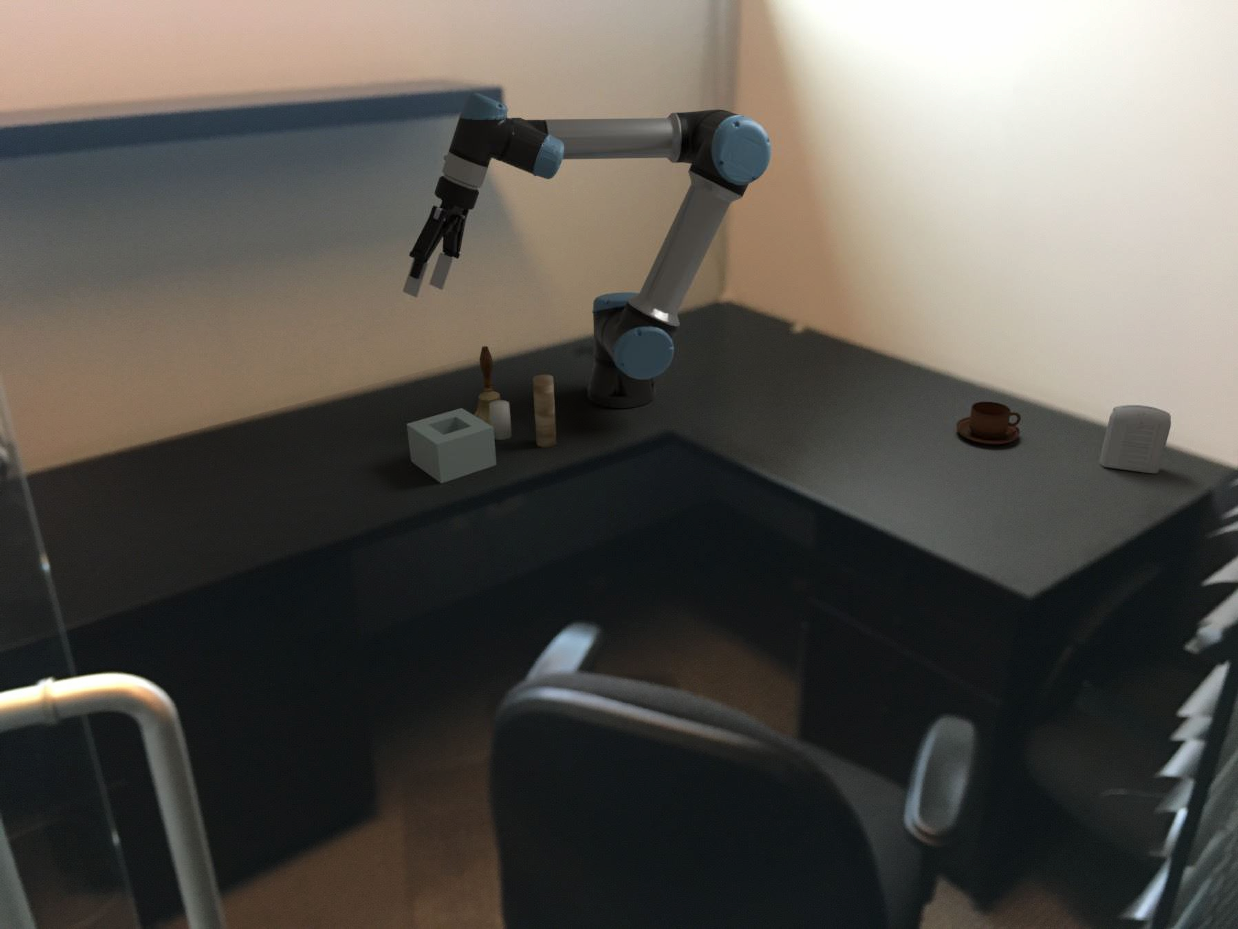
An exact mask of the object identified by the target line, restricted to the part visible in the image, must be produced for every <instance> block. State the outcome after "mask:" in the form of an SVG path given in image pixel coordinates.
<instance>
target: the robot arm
mask: <svg viewBox="0 0 1238 929" xmlns="http://www.w3.org/2000/svg"><path fill="white" fill-rule="evenodd" d="M508 111H509V108H508V106H507V105H506V104H504V103H502V102H500V101H498V100H495V99H494V98H493V99H492V98H490V97H489V96H486V95H482V94H480V93H478V92H472V93H469V94H468V96H467V97H466V99H465V102H464V104H463V108H462V110H461V112H460V114H459V116H458V117H459V118H458V121H457V124H456V125H455V126H456V127H455V130H454V133H453V136H452V139H451V142H450V145H449V146H450V147H449V149H448V152H447V155H444V156H443V160H444V163H443V167H442V170H441V172H442V174H443V175H441V176H439V178H438V182H437V184H436V186H435V190H434V195H435V196H436V198H437V199H440V201H441V203H440V205H439V207H438V206H437V205H433V206H432V207H431V210H430V213H429V215H428V217H427V219H426V222H425V224H424V226H423V228H422V230H421V232H420V234H419V236H418V238H417V239H416V242H414V246H413V247H412V249H411V251H409V253H408V256H409V257H410V258H412V262H411V265H410V268H409V271H408V275H407V277H406V280H405V283H404V287H403V288H402V289H403V290H402V292H403V293H405V294H408V295H409V296H412V297H414V298H418V297H419V293H420V291H421V287H422V286H423V283H424V278H425V276H426V273H427V272H428V271H427V270H428V267H429V264H430V263H428V262H429V260H430V258H431V256H432V255H433V254H434V252H435V250H436V248H437V246H439V243H440V242H441V240H442V252H440V253H439V254H438V257H437V260H436V264H435V266H434V269H433V271H432V275H431V277H430V280H429V283H428V284H429V285H430V286H432V287H434V288H437V289H439V290H444V288H445V285H446V281H447V279H448V276H449V274H450V271H451V267H452V264H453V261H454V259H457V260H459V258H460V256H461V253H460V252H461V250H462V242H463V237H464V233H465V226H466V222H467V218H468V214H469V211H471V210H473V209H474V208H475V206H476V203H477V202H478V197H479V194H480V192H479V189H480V188H482V186H483V183H484V181H485V177H486V174H487V173H488V169H489V166H490V162H491V160H492V159H494V160H496V161H498V162H502V163H504V164H507V165H509V166H511V167H514V168H517V169H518V170H521V171H524V172H526V173H528V174H531V175H532V176H534V177H540V178H543V179H546V180H550V179H552V178H554V177H555V176H556V174H557V173H558V171H559V169H560V168H561V167H560V166H561V164H562V162H563V160H608V159H609V160H610V159H614V160H615V159H617V160H618V159H659V158H660V159H665V158H666V159H667V160H668V161H669V162H670V163H674V164H677V163H683V164H691V165H690V167H689V169H688V171H687V173H688V176H689V179H690V186H689V188H688V189H687V192H686V194H685V196H684V198H683V200H682V202H681V204H680V206H679V209H678V210H677V213H676V215H675V217H674V219H673V221H672V224H671V225H670V228H669V230H668V231H667V232H668V233H667V234H666V237H665V239H664V240H663V243H662V245H661V247H660V249H659V251H658V253H657V256H655V259H654V260H653V261H654V262H653V264H652V266H651V268H650V270H649V272H648V275H647V277H646V278H645V281H644V283H643V285H642V287H641V290H640V291H639V292H631V291H630V292H625V291H624V292H622V291H621V292H612V293H611V292H610V293H605V294H601V295H598V296H597V297H595V298H594V300H593V302H592V303H593V304H592V305H593V307H592V311H591V312H592V314H593V315H592V316H593V318H592V320H593V321H592V322H593V347H594V348H593V350H594V352H593V354H594V363H593V368H592V371H591V375H590V379H589V382H588V385H587V398H588V399H589V401H590V402H592V403H593V404H595V405H598V406H601V407H606V408H611V409H612V408H613V409H627V408H629V409H630V408H637V407H640V406H644V405H646V404H649V403H651V402H652V401H653V400H654V399H656V398H655V397H656V393H657V391H656V390H657V388H656V383H655V380H654V378H655V377H657V376H660V375H661V374H662V373H664V372H665V371H666V370H667V369H668V368H669V367H670V365H671V363H672V361H673V359H674V354H675V347H674V342H673V340H674V338H675V335H676V334H677V331H678V329H679V328H680V325H681V323H680V320H679V316H678V312H679V310H680V308H681V306H682V304H683V302H684V300H685V298H686V296H687V294H688V291H689V289H690V287H691V285H692V283H693V281H694V279H695V278H696V275H697V273H698V271H699V269H700V267H701V265H702V263H703V261H704V259H705V257H706V254H707V252H708V250H709V249H710V246H711V245H712V242H713V240H714V238H715V236H716V234H717V232H718V230H719V228H720V226H721V223H722V221H723V220H724V217H725V216H726V214H727V211H728V209H729V207H730V205H731V204H732V203H733V202H735V201H738V200H740V199H743V196H744V194H745V192H746V191H747V188H748V186H749V185H750V184H752V183H753V182H755V181H757V180H758V179H760V178H761V177H762V176H763V175H764V173H765V172H766V170H767V168H768V166H769V164H770V161H771V155H772V145H771V142H770V141H771V140H770V137H769V135H768V133H767V132H766V130H765V128H763V126H762V125H761V124H759V122H757V121H755V120H753V119H752V118H751V117H748V116H745V115H743V114H737V113H735V112H731V111H729V110H725V109H707V110H706V109H705V110H697V111H685V112H672V113H670V114H669V115H668V116H667V117H663V118H662V117H658V118H657V117H656V118H655V117H654V118H653V117H651V118H650V117H649V118H645V117H643V118H637V117H636V118H573V119H572V118H570V119H569V118H562V119H560V118H559V119H558V118H555V119H551V118H550V119H526V118H525V119H524V118H522V117H510V118H509V117H508Z"/></svg>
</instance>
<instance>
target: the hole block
mask: <svg viewBox="0 0 1238 929" xmlns="http://www.w3.org/2000/svg"><path fill="white" fill-rule="evenodd" d="M406 430H407V439H408V446H409V453H410V462H412V463H413V464H414V465H415V466H417V467H418V468H419V469H420V470H422V471H424V472H425V473H426V474H428V475H429V476H430V477H432V478H433V479H435V481H437V482H439V483H440V484H443V483H444V484H445V483H447V482H449V481H452V480H457V479H459V478H463V477H465V476H467V475H471V474H473V473H476V472H480V471H483V470H485V469H488V468H491V467H494V466H497V456H496V454H497V453H496V445H495V442H496V441H495V439H494V428H493V427H492V426H491V425H489V424H487V423H486V422H484V421H482V420H481V419H479V418H477V417H476V416H474V414H472V413H471V412H469V411H467V410H465V409H464V408H463V407H460V408H457V409H454V410H451V411H446V412H443V413H439V414H437V415H433V416H429V417H425V418H422V419H419V420H415V421H412V422H409V423H406Z"/></svg>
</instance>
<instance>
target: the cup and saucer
mask: <svg viewBox="0 0 1238 929" xmlns="http://www.w3.org/2000/svg"><path fill="white" fill-rule="evenodd" d="M1011 416H1015V417H1016V419H1017V420H1016V421H1014V422H1010V417H1011ZM1021 418H1022V417H1021V415H1020V413H1018V412H1017V411H1011V409H1010V407H1009V406H1007V405H1005V404H1002V403H999V402H996V401H995V402H994V401H978V402H975V403H973V404H972V405H971V409H970V416H967V417H964V418H962V419H959V420H958V421H957V422H956V430H957V432H958V433H959V434H960V435H961V436H962V437H964V438H966V439H967V440H970V441H972V442H975V443H978V444H979V443H980V444H983V445H984V444H985V445H1005V444H1009V443H1012V442H1013V441H1014V440H1016V439H1018V438H1019V437H1020V434H1021V430H1020V429H1019V427H1018V424H1019V423H1020V422H1021V420H1022V419H1021Z"/></svg>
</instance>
